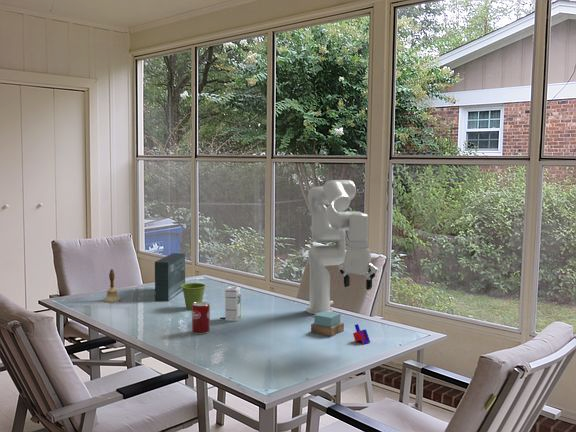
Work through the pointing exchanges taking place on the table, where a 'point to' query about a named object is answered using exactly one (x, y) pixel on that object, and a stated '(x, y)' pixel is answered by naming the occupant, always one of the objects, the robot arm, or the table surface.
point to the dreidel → (361, 335)
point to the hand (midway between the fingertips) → (357, 287)
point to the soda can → (200, 317)
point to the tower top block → (327, 319)
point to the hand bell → (112, 290)
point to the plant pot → (193, 293)
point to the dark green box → (169, 276)
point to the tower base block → (327, 329)
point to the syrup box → (232, 303)
